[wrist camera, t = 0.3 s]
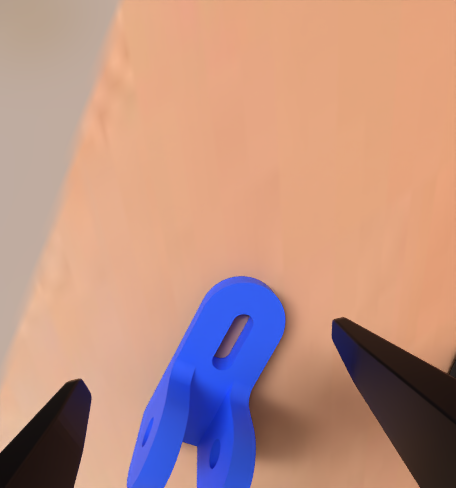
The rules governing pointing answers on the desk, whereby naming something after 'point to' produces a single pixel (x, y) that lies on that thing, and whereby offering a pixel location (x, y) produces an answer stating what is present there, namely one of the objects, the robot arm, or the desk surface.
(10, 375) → the desk surface
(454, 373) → the graphics card box
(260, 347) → the bracket
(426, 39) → the desk surface
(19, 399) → the desk surface
